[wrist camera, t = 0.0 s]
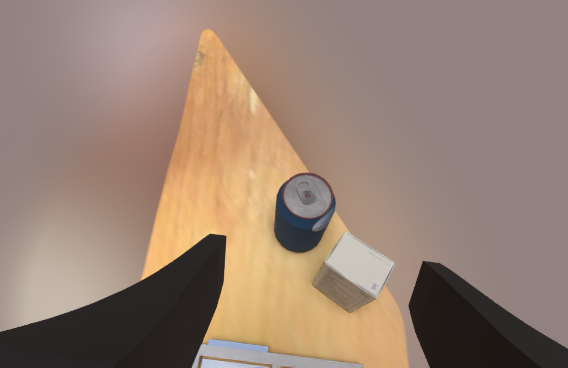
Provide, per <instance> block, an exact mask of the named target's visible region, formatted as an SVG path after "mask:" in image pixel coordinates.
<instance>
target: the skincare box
mask: <svg viewBox="0 0 568 368" xmlns="http://www.w3.org/2000/svg"><path fill="white" fill-rule="evenodd" d="M394 266H395V263H394V262H392V261H391V260H390V259H388V258H387V257H385V256H384V255H382V254H381V253H379V252H377V251H376V250H375V249H373V248H372V247H370V246H368V245H367V244H365V243H364V242H362V241H361V240H359V239H357V238H356V237H354V236H353V235H351V234H349V233H348V232H344V233H343V235H342V236H341V238H340V239H339V240H338V242H337V243H336V245H335V246H334V248H333V249H332V251H331V252H330V254H329V255H328V257H327V258H326V260H325V262H324V263H323V265H322V267H321V269H320V271H319V272H318V274H317V276H316V278H315V279H314V281H313V283H312V285H313V286H314V287H315V288H316V289H318V290H319V291H320V292H322V293H323V294H324V295H326V296H327V297H328V298H330V299H331V300H332V301H334V302H335V303H337V304H338V305H339V306H341V307H342V308H344V309H345V310H346V311H348V312H350V313H351V312H353V311H354V310H356V309H358V308H360V307H362V306H364V305H366V304H368V303H369V302H371V301H373V300H375V299H377V298H378V296H379V294H380V293H381V291H382V289H383V287H384V286H385V284H386V282H387V280H388V278H389V276H390V274H391V272H392V270H393V268H394Z"/></svg>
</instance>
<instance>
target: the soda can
mask: <svg viewBox="0 0 568 368" xmlns="http://www.w3.org/2000/svg"><path fill="white" fill-rule="evenodd" d="M334 211H335V197H334V194H333V191H332V189H331V187H330V185H329V184H328V182H327V181H326V180H325V179H324V178H322V177H320V176H319V175H316V174H313V173H300V174H296V175H294V176H293V177H291V178H290V179H289V180H287V181H286V182H285V183H284V184H283V185H282V186H281V188H280V189H279V191H278V194H277V200H276V211H275V223H274V232H275V235H276V238H277V240H278V241H279V242H280V244H281V245H283V246H284V247H285V248H287V249H289V250H291V251H295V252H304V251H308V250H310V249H312V248H314V247H315V246H316V245H317V244H318V243H319V242H320V240H321V238H322V236H323V234H324V232H325V230H326V228H327V226H328V224H329V222H330V220H331V218H332V216H333V213H334Z"/></svg>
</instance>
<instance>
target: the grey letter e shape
mask: <svg viewBox="0 0 568 368" xmlns="http://www.w3.org/2000/svg"><path fill="white" fill-rule="evenodd" d="M201 356H208V357H216V358H224V359H231V360H239V361H247V362H255V363H263V364H270V365H272V368H281V366H286V367H294V368H363V364H355V363H347V362H339V361H331V360H324V359H316V358H308V357H300V356H292V355H285V354H277V353H269V352H268V346H260V345H252V344H245V343H237V342H229V341H221V340H214V339H209V341H208V345H207V344H201V346H200V349H199V351H198V354H197V356H196V358H195V361H194V363H193V366H192V368H199V366H200V361H201ZM201 368H270V367H266V366H258V365H250V364H242V363H235V362H227V361H219V360H211V359H203V360H202V365H201Z"/></svg>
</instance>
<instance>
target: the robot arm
mask: <svg viewBox="0 0 568 368" xmlns="http://www.w3.org/2000/svg"><path fill="white" fill-rule="evenodd" d="M225 251H226V236H224V235H216V234H209V235H208V236H206V237H205V238H203V239H202V240H201V241H199V242H198V243H197V244H196V245H194V246H193V247H192V248H190V249H189V250H188V251H186V252H185V253H184V254H182V255H181V256H180V257H178V258H177V259H175V260H174V261H173V262H171V263H169V264H168V265H166V266H165V267H163V268H162V269H160V270H159V271H157V272H156V273H154V274H152V275H151V276H149V277H147V278H145V279H144V280H142V281H140V282H138V283H136V284H134V285H132V286H130V287H128V288H126V289H124V290H122V291H120V292H118V293H115V294H113V295H111V296H109V297H106V298H104V299H101V300H99V301H97V302H95V303H92V304H89V305H87V306H84V307H82V308H79V309H76V310H73V311H70V312H68V313H64V314H61V315H58V316H55V317H52V318H49V319H46V320H42V321H39V322H35V323H31V324H28V325H24V326H21V327H17V328H13V329H10V330H6V331H2V332H0V368H192V366H193V363H194V361H195V358H196V356H197V354H198V351H199V349H200V346H201V344H202V342H203V339H204V337H205V334H206V332H207V330H208V327H209V325H210V322H211V320H212V317H213V315H214V312H215V310H216V307H217V304H218V301H219V297H220V294H221V290H222V286H223V282H224V268H225ZM409 310H410V314H411V318H412V322H413V325H414V329H415V332H416V335H417V338H418V340H419V342H420V345H421V347H422V350H423V352H424V354H425V357H426V359H427V362H428V364H429V366H430V368H568V349H567V348H565V347H564V346H562V345H560V344H559V343H557V342H555V341H554V340H552V339H550V338H548V337H547V336H545V335H544V334H542V333H540V332H538V331H537V330H535V329H534V328H532V327H531V326H529V325H527V324H526V323H524V322H523V321H521V320H520V319H518V318H517V317H515V316H514V315H512V314H511V313H509V312H508V311H506V310H505V309H504V308H502V307H501V306H499V305H498V304H496V303H495V302H494V301H492V300H491V299H489V298H488V297H487V296H485V295H484V294H483V293H481V292H480V291H479V290H477V289H476V288H474V287H473V286H472V285H470V284H469V283H468V282H466V281H465V280H464V279H462V278H461V277H459V276H458V275H457V274H455V273H454V272H453V271H451V270H450V269H448V268H447V267H445V266H443V265H442V264H440V263H434V262H427V261H423V263H422V265H421V268H420V272H419V275H418V278H417V281H416V284H415V287H414V290H413V293H412V296H411V299H410V303H409Z"/></svg>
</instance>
